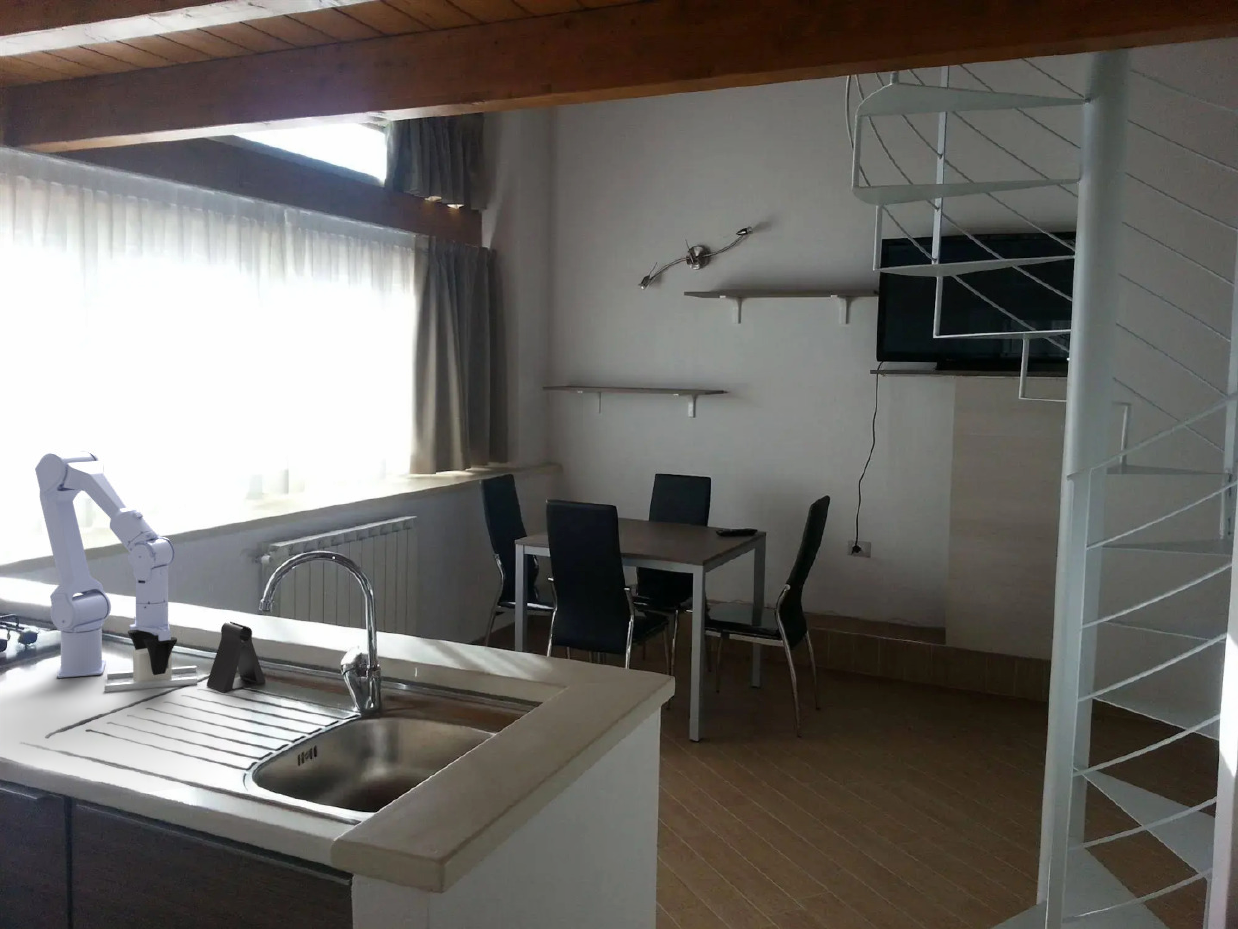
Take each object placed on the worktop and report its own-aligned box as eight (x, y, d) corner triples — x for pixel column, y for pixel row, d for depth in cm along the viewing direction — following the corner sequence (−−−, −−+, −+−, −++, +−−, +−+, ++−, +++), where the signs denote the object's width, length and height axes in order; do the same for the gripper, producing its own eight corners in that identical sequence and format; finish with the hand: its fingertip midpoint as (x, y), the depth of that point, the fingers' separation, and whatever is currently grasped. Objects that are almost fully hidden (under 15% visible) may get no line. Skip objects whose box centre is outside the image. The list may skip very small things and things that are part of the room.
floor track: (107, 678, 192) (107, 672, 192) (196, 671, 199) (196, 665, 199) (104, 692, 184) (104, 685, 184) (197, 684, 191) (197, 678, 190)
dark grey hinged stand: (223, 693, 186) (223, 631, 185) (206, 686, 189) (206, 625, 188) (265, 683, 193) (266, 623, 192) (248, 676, 197) (248, 618, 196)
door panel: (133, 680, 190) (133, 650, 190) (165, 675, 195) (165, 645, 194) (139, 684, 188) (139, 654, 188) (171, 679, 192) (171, 649, 192)
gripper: (117, 596, 192) (118, 664, 194) (143, 610, 182) (143, 681, 183) (155, 592, 197) (155, 658, 198) (182, 605, 187) (182, 675, 188)
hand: (152, 669), depth 191 cm, fingers open, 7 cm apart
